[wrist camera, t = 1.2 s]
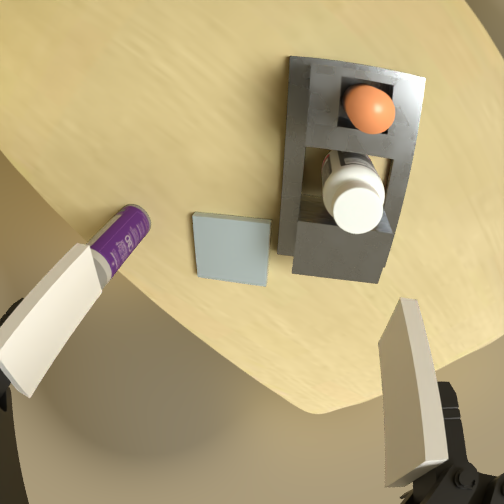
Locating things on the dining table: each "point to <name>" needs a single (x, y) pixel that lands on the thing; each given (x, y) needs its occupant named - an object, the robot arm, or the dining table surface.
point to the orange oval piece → (368, 108)
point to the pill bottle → (352, 191)
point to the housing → (350, 140)
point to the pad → (232, 248)
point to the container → (118, 240)
